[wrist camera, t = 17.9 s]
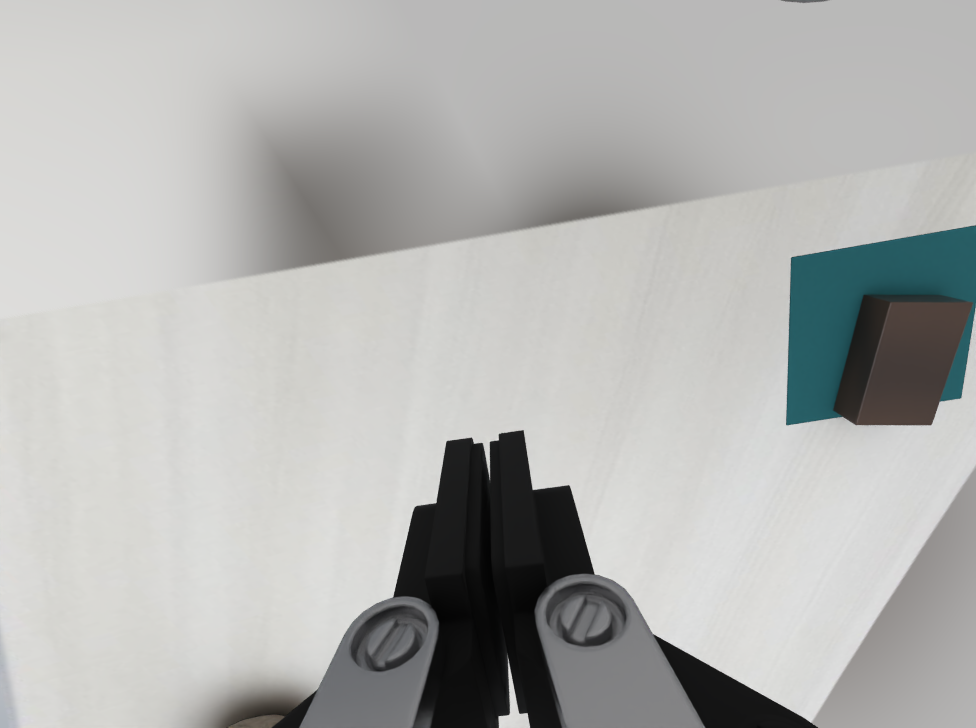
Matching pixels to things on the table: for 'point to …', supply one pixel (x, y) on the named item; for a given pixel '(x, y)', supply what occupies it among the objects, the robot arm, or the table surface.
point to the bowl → (258, 722)
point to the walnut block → (900, 358)
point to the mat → (837, 300)
